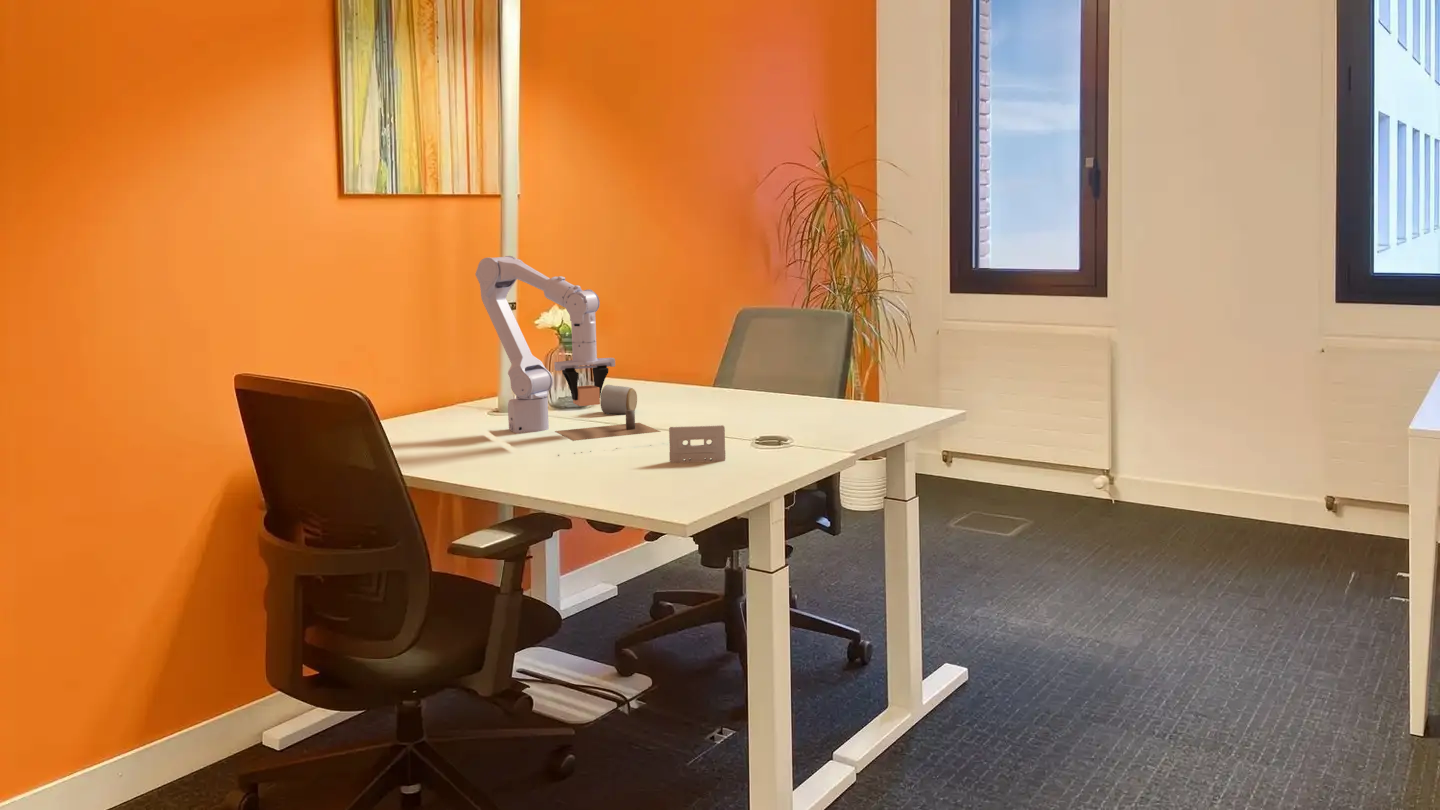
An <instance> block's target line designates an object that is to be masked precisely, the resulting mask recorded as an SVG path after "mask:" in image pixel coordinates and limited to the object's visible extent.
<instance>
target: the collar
mask: <svg viewBox="0 0 1440 810" xmlns="http://www.w3.org/2000/svg"><path fill="white" fill-rule="evenodd" d="M577 389H578V400H573V399H572V401H573V402H572V403H573V405H576V406H579V407H584V406H596V405H601V402H600V401H601V396H600V389H599V387H596V386H594V384H590V385H589V384H587V385H577Z"/></svg>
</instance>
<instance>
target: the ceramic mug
mask: <svg viewBox="0 0 1440 810" xmlns="http://www.w3.org/2000/svg"><path fill="white" fill-rule="evenodd" d="M637 404H638V394H637V391H636V389H635V388H633V387H629V386H622V385H621V386H620V385H613V384H605V385H604V386H603V387H602V390H601V396H600V408H601V409H600V410H601V411H602V412H603V413H604V414H606V413H609V414H610V415H611V414H612V415H626V410H636V409H637ZM609 414H608V415H609Z"/></svg>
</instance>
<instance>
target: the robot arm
mask: <svg viewBox="0 0 1440 810" xmlns="http://www.w3.org/2000/svg"><path fill="white" fill-rule="evenodd" d="M475 277H476V279H477V281H478V283H479V287H480V288H479V289H480V297H481V301H482V303H483V304H482V305H484V308H485V310H486V312H487V315H488V316H489V319H490V321H491V323H492V325H493V326H494V330H495V331H496V334H497V336H498V338H499V340H500V342H501V345H502V346H503V348H504V351H505V353H506V355H507V358H508V359H509V361H510V364H511V365H510V368H509V369H508V372H507V374H508V377H509V381H510V388H511V391H512V393H513V394H514V395H515V398H512V399H509V400H508V402H507V416H508V430H509V431H511V432H513V434H514V433H515V434H521V433H537V432H544V431H547V430H549V428H550V425H549V421H550V420H549V403H548V396H549V393H550V392H549V391H550V390H551V389H552V387H553V385H554V378H553V375H552V373H551V372H550V371H549V370H548V368H546V367H545V365H544V363H543V361H542V360H540V359H539V358H537V357H536V356H535V355H533V354H532V351H531V349H530V347H529V344H528V343H527V341H526V338H525V336H524V334H523V332H522V330H521V328H520V325H519V323H518V321H517V319H516V317H515V315H514V313H513V311H512V308H511V306H510V304H509V302H508V300H507V296H508V293H509V292H510V290H511V289H512V287H513V286H514V284H515V283H516V281H517V280H518V281H521V282H522V283H526V284H528V285H530V286H531V287H534V288H536V289H539V290H541V291H543V294H544V297H545V298H546V299H547V300H549V301H552V302H553V303H555V304H558V305H559V306H561V307H563V308H565V310H566V312H567V314H569V321H570V323H571V326H570V327H571V346H572V347H571V351H572V354H571V355H572V359H570V360H562V361H554V362H553V363H554V371H556V372H560V371H561V373H562V375H563V377H564V378H565V381H566V382H567V384H568V388H569V390H570V394H571V398H572V401H573V400H578V389H577V386H578V382H579V381H578V379H579V372H578V371H577V370H581V369H591V371H592V375H593V385H594V386H596V387H599V389H600V397H601V392H602V389H603V387H604V386H603V385H604V382H605V380H606V378H607V376H608V374H609V368H610V367H616V359H615V358H614V357H604V358H603V357H601V358H600V357H599V358H598V355H597V354H598V350H597V325H596V324H597V323H596V320H597V318H596V313H597V311H599V308H600V304H601V303H600V297H599V296H598V294H597V293H596V292H595V291H593V290H592V289H589V288H587V289H584V290H583V289H582V287H581V286H580V285H578V284H577V285H576V284H575V285H574V284H572V283H570V282H568V281H567V280H566V277H565V276H562V275H560V276H552V277H548V276H547V275H546V274H544V273H542V272H540V271H538V270H536V269H535V268H533V267H532V266H530V265H528V264H526V263H525V262H523V260H522V259H519V258H516V257H514V256H513V255H505V256H499V257H490V256H489V257H484V258H482V259H481V260H480V261H479V263H478V265H477V268H476V271H475Z"/></svg>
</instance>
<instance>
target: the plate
mask: <svg viewBox="0 0 1440 810" xmlns="http://www.w3.org/2000/svg"><path fill="white" fill-rule="evenodd" d="M635 410H636V409H635ZM635 410H626V414H625V423H621V424H612V425H602V426H593V427H583V428H572V429H563V430H555V431H554V432H555V433H557V434H559V435H561V436H562V437H565V438H567V439H569V440H571V441H572V442H574V441H582V440H593V439H594V440H595V439H601V438H602V439H603V438H613V437H621V436H622V437H623V436H632V435H642V434H651V433H661V432H662V431H661V430H658V429H655V428H654V427H652V426H649V425H646V424H643V423H642V422H636V416H635V415H636V411H635Z"/></svg>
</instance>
